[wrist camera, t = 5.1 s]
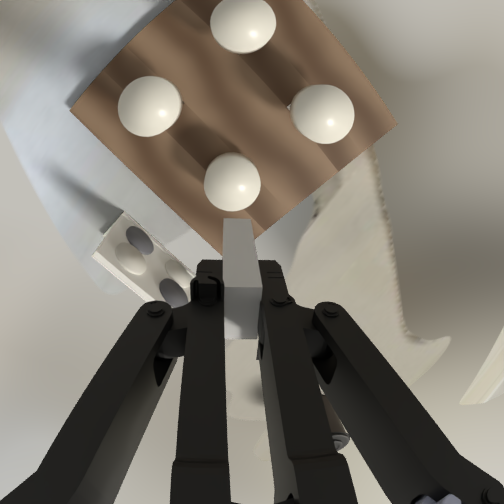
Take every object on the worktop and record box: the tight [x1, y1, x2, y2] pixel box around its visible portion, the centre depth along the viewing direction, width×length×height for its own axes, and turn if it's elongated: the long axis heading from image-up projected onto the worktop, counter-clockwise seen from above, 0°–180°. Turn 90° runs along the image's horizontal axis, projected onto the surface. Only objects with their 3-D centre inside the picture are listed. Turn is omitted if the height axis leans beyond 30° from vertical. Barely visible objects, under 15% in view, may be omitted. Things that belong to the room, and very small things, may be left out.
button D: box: [204, 152, 261, 211], centre depth 30 cm, size 5×5×4 cm
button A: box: [210, 0, 276, 54], centre depth 22 cm, size 5×5×4 cm
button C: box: [118, 76, 182, 137], centre depth 25 cm, size 5×5×4 cm
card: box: [92, 211, 196, 308], centre depth 33 cm, size 4×12×9 cm, turn 41°
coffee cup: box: [322, 395, 350, 451], centre depth 49 cm, size 8×8×10 cm
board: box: [69, 0, 397, 256], centre depth 29 cm, size 24×24×1 cm
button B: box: [290, 85, 354, 144], centre depth 26 cm, size 5×5×4 cm
